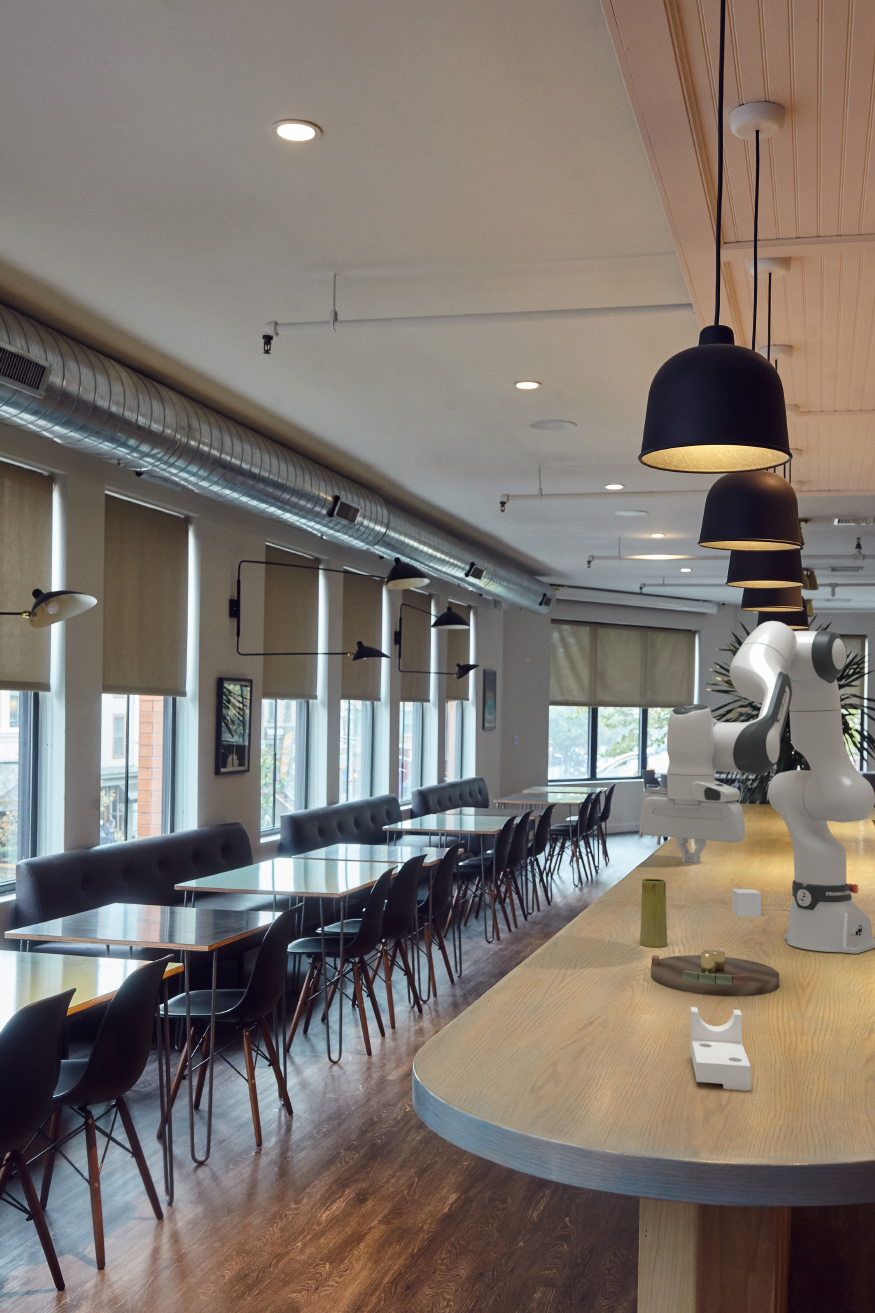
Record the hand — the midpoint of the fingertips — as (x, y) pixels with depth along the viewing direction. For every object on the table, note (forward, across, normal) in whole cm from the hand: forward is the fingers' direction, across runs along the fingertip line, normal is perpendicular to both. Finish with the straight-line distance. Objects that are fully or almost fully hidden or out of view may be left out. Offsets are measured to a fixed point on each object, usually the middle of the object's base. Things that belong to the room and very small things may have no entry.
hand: (691, 862), depth 200 cm
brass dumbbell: (+21, +2, +3) cm, 21 cm away
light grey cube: (+24, -23, +79) cm, 86 cm away
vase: (+23, -23, +28) cm, 43 cm away
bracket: (+23, +25, -44) cm, 55 cm away
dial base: (+23, +1, +7) cm, 24 cm away
